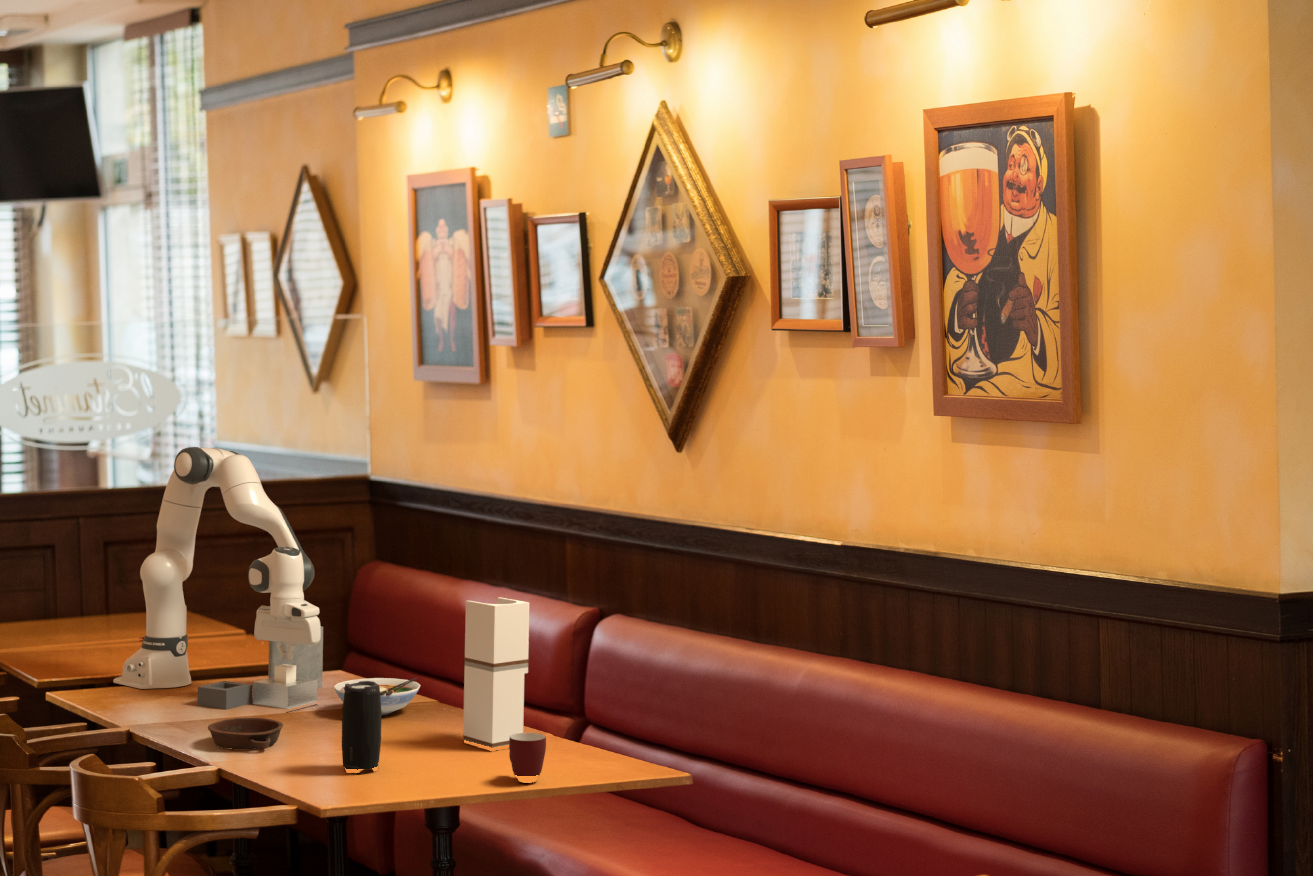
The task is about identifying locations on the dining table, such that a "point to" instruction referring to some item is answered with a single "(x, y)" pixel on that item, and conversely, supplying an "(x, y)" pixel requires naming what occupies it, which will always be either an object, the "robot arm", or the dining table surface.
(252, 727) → the dish
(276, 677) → the plug
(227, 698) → the grey square socket block
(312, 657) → the hip flask
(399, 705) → the ramen bowl
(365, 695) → the portable speaker
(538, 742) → the mug
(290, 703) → the port box
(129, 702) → the dining table surface
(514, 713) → the banded cream pillar
